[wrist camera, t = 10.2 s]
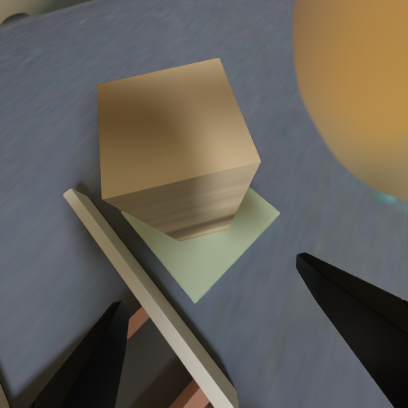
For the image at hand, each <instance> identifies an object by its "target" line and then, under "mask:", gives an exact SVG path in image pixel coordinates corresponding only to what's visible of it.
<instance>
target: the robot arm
mask: <svg viewBox="0 0 408 408" xmlns="http://www.w3.org/2000/svg"><path fill="white" fill-rule="evenodd" d="M296 268H297V270H298V272H299V274H300V275H301V277H302V279H303V280H304V282H305V284H306V285H307V287H308V289H309V290H310V292H311V294H312V295H313V297H314V299H315V300H316V301H317V303H318V304H319V306H320V307H321V308H322V310H323V311H324V313H325V314H326V315H327V317H328V318H329V319H330V321H331V322H332V323H333V325H334V326H335V328H336V329H337V330H338V332H339V333H340V334H341V336H342V337H343V338H344V340H345V341H346V343H347V344H348V345H349V347H350V348H351V349H352V351H353V352H354V353H355V355H356V356H357V358H358V359H359V360H360V362H361V363H362V364H363V366H364V367H365V368H366V370H367V371H368V373H369V374H370V375H371V377H372V378H373V379H374V381H375V382H376V383H377V385H378V386H379V388H380V389H381V390H382V392H383V393H384V394H385V396H386V397H387V398H388V400H389V401H390V403H391V404H392V405H393V407H394V408H408V301H406V300H402V299H401V298H399V297H397V296H395V295H393V294H391V293H389V292H387V291H385V290H382V289H380V288H378V287H376V286H374V285H372V284H370V283H368V282H366V281H364V280H362V279H360V278H358V277H355V276H353V275H351V274H349V273H347V272H345V271H343V270H341V269H339V268H337V267H335V266H333V265H331V264H328V263H326V262H324V261H322V260H320V259H318V258H316V257H314V256H312V255H310V254H308V253H300V254H297V257H296ZM129 316H130V313H129V309H128V308H127V306H126V305H125V303H124V302H123V301H122V300H120V301H116V302H114V303H112V304H111V306H110V307H109V308H108V309H107V310H106V312H105V313H104V314H103V315H102V317H101V318H100V319H99V320H98V322H97V323H96V324H95V325H94V327H93V328H92V329H91V330H90V332H89V333H88V334H87V335H86V337H85V338H84V339H83V340H82V341H81V343H80V344H79V345H78V346H77V348H76V349H75V350H74V351H73V353H72V354H71V355H70V356H69V358H68V359H67V360H66V361H65V363H64V364H63V365H62V366H61V367H60V369H59V370H58V371H57V372H56V374H55V375H54V376H53V377H52V379H51V380H50V381H49V382H48V384H47V385H46V386H45V387H44V389H43V390H42V391H41V392H40V394H39V395H38V396H37V397H36V399H35V401H33V402H32V403H31V405H30V406H29V407H28V408H115V405H116V400H117V395H118V389H119V384H120V379H121V374H122V369H123V363H124V358H125V353H126V345H127V336H128V326H129Z"/></svg>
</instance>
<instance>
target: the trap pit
mask: <svg viewBox="0 0 408 408" xmlns="http://www.w3.org/2000/svg"><path fill="white" fill-rule="evenodd" d="M208 403H209V399H208V398H207V396H206V395H205V394H204V392H203V391H202V389H201V388H200V387H199V385H198V384H197V382H196V381H195V380H194V378H193V377H192V375H191V374H190V372H189V371H188V370H187V368H186V367H185V365H184V364H183V363H182V361H181V360H180V358H179V357H178V356H177V354H176V353H175V351H174V350H173V349H172V347H171V346H170V344H169V343H168V342H167V340H166V339H165V337H164V336H163V335H162V333H161V332H160V330H159V329H158V328H157V326H156V325H155V323H154V322H153V321H152V319H151V318H150V316H149V315H148V314H147V312H146V311H145V309H144V308H143V307H141V308H140V309H139V310H138V311H137V312H136V313H135V314H134V315H133V316H132V317H131V318H130V319H129V326H128V336H127V345H126V353H125V358H124V363H123V369H122V374H121V379H120V384H119V389H118V395H117V400H116V405H115V408H205V406H206V405H207V404H208Z"/></svg>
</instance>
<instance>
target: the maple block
mask: <svg viewBox="0 0 408 408" xmlns="http://www.w3.org/2000/svg"><path fill="white" fill-rule="evenodd" d="M97 101H98V124H99V146H100V169H101V192H102V200H103V201H105V202H107V203H109V204H111V205H113V206H115V207H116V208H118V209H120V210H122V211H124V212H126V213H127V214H129V215H131V216H133V217H135V218H137V219H138V220H140V221H142V222H144V223H146V224H148V225H150V226H151V227H153V228H155V229H157V230H159V231H161V232H162V233H164V234H166V235H168V236H170V237H172V238H174V239H175V240H177V241H179V242H181V241H185V240H189V239H193V238H197V237H201V236H205V235H209V234H213V233H217V232H221V231H225V230H228V228H229V226H230V224H231V222H232V220H233V218H234V216H235V214H236V212H237V210H238V208H239V206H240V204H241V202H242V200H243V197H244V195H245V193H246V191H247V189H248V187H249V185H250V183H251V181H252V179H253V177H254V175H255V173H256V171H257V169H258V167H259V165H260V163H261V161H260V158H259V156H258V153H257V151H256V148H255V146H254V143H253V141H252V138H251V136H250V133H249V131H248V128H247V126H246V123H245V121H244V118H243V116H242V114H241V111H240V109H239V106H238V104H237V101H236V99H235V96H234V94H233V91H232V89H231V86H230V84H229V81H228V79H227V76H226V74H225V72H224V69H223V67H222V64H221V62H220V59H219V58H216V59H211V60H207V61H202V62H198V63H193V64H189V65H184V66H180V67H175V68H170V69H166V70H161V71H157V72H152V73H148V74H143V75H139V76H134V77H130V78H125V79H121V80H116V81H111V82H107V83H102V84H98V85H97Z"/></svg>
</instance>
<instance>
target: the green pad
mask: <svg viewBox="0 0 408 408" xmlns="http://www.w3.org/2000/svg"><path fill="white" fill-rule="evenodd" d="M121 213H122V215H123V216H124V217H125V218H126V220H127V221H128V222H129V223H130V224H131V226H132V227H133V228H134V229H135V231H136V232H137V233H138V234H139V236H140V237H141V238H142V239H143V240H144V242H145V243H146V244H147V245H148V247H149V248H150V249H151V250H152V251H153V253H154V254H155V255H156V256H157V258H158V259H159V260H160V261H161V263H162V264H163V265H164V266H165V267H166V269H167V270H168V271H169V272H170V274H171V275H172V276H173V277H174V279H175V280H176V281H177V282H178V283H179V285H180V286H181V287H182V288H183V290H184V291H185V292H186V293H187V294H188V296H189V297H190V298H191V299H192V301H193V302H194V303H196V302H197V301H198V300H199V299H200V298H201V297H202V296H203V295H204V294H205V293H206V292H207V291H208V290H209V289H210V287H211V286H212V285H213V284H214V283H215V282H216V281H217V280H218V279H219V278H220V277H221V276H222V275H223V274H224V273H225V272H226V271H227V270H228V268H229V267H230V266H231V265H232V264H233V263H234V262H235V261H236V260H237V259H238V258H239V257H240V256H241V255H242V254H243V253H244V252H245V250H246V249H247V248H248V247H249V246H250V245H251V244H252V243H253V242H254V241H255V240H256V239H257V238H258V237H259V236H260V235H261V234H262V232H263V231H264V230H265V229H266V228H267V227H268V226H269V225H270V224H271V223H272V222H273V221H274V220H275V219H276V218H277V217H278V216H279V214H280V212H278V211H277V210H276V209H275V208H274V207H273V206H271V205H270V204H269V203H268V202H267V201H266V200H264V199H263V198H262V197H261V196H260V195H258V194H257V193H256V192H255V191H254V190H253V189H251V188H250V187H248V189H247V191H246V193H245V195H244V197H243V200H242V202H241V204H240V206H239V208H238V210H237V212H236V214H235V216H234V218H233V220H232V222H231V224H230V226H229V228H228V230H225V231H221V232H217V233H213V234H209V235H205V236H201V237H197V238H193V239H189V240H185V241H181V242H179V241H177V240H175V239H174V238H172V237H170V236H168V235H166V234H164V233H162V232H161V231H159V230H157V229H155V228H153V227H151V226H150V225H148V224H146V223H144V222H142V221H140V220H138V219H137V218H135V217H133V216H131V215H129V214H127V213H126V212H124V211H121Z"/></svg>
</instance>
